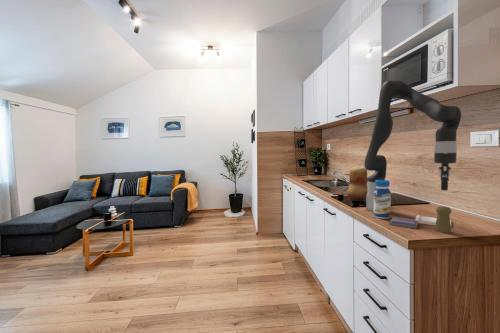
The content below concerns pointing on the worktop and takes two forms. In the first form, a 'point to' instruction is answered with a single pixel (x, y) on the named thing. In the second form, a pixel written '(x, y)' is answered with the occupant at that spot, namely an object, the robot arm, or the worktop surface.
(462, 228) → the worktop surface
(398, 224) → the ink pad
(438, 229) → the olive rounded piece
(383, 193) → the beverage bottle
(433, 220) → the marked board
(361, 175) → the butternut squash
